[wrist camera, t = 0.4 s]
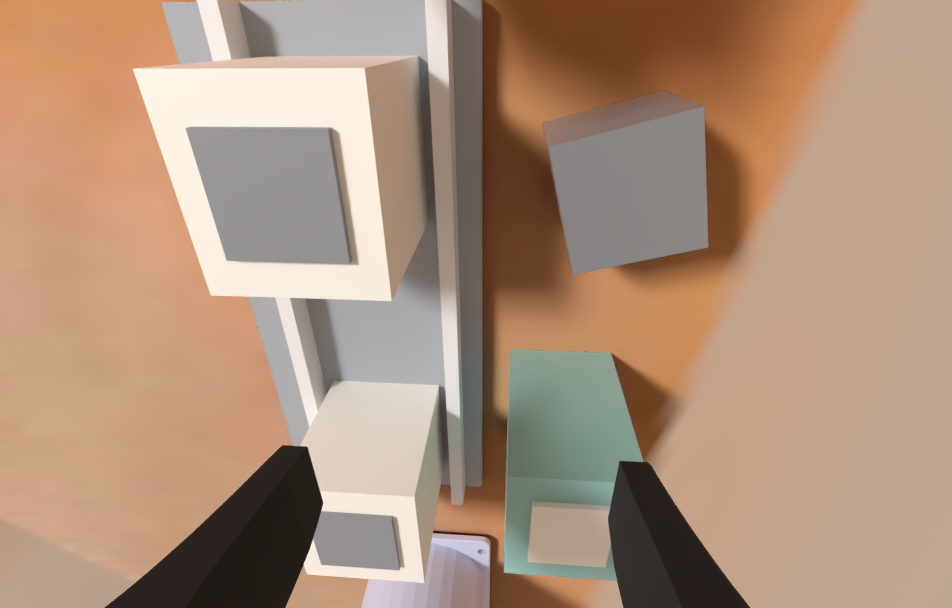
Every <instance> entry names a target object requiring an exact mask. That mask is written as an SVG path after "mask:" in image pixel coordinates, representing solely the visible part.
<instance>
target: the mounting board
mask: <svg viewBox="0 0 952 608" xmlns="http://www.w3.org/2000/svg"><path fill="white" fill-rule="evenodd" d="M161 3H162V7H163V10H164V13H165V17H166V20H167V23H168V27H169V30H170V33H171V37H172V40H173V44H174V47H175V50H176V54H177V57H178V60H179V65H168V66H157V67H146V68H135V69H133V71H134V74H135V76H136V79H137V82H138V85H139V88H140V91H141V94H142V97H143V100H144V103H145V105H146V108H147V111H148V114H149V117H150V120H151V123H152V126H153V129H154V132H155V135H156V137H157V140H158V143H159V146H160V149H161V152H162V155H163V158H164V161H165V164H166V166H167V169H168V172H169V175H170V178H171V181H172V184H173V187H174V190H175V193H176V195H177V198H178V201H179V204H180V207H181V210H182V213H183V216H184V219H185V222H186V224H187V227H188V230H189V233H190V236H191V239H192V242H193V245H194V248H195V251H196V253H197V256H198V259H199V262H200V265H201V268H202V271H203V274H204V277H205V280H206V283H207V285H208V288H209V291H210V294H211V295H217V296H248V297H249V299H250V303H251V306H252V309H253V313H254V316H255V320H256V323H257V326H258V330H259V333H260V336H261V340H262V343H263V347H264V350H265V353H266V357H267V360H268V363H269V367H270V370H271V373H272V377H273V380H274V384H275V387H276V390H277V394H278V397H279V400H280V404H281V407H282V410H283V414H284V417H285V421H286V424H287V427H288V431H289V434H290V437H291V441H292V444H293V446H307V447H308V450H309V454H310V457H311V461H312V464H313V468H314V471H315V475H316V479H317V482H318V486H319V489H320V493H321V496H322V500H323V507H322V510H321V514H320V517H319V521H318V524H317V528H316V531H315V534H314V538H313V541H312V544H311V547H310V550H309V552H308V555H307V557H306V560H305V562H304V567H305V570H306V573H307V574H310V575H323V576H337V577H350V578H364V579H377V580H391V581H404V582H418V583H424V582H425V576H426V570H427V564H428V558H429V552H430V546H431V540H432V534H433V528H434V522H435V516H436V510H437V504H438V498H439V492H440V486H441V484H443V485H451V503H452V505H463V502H464V493H465V486H477V487H482V478H483V0H297V1H232V0H197V2H161Z"/></svg>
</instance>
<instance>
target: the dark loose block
mask: <svg viewBox="0 0 952 608" xmlns="http://www.w3.org/2000/svg"><path fill="white" fill-rule="evenodd" d="M542 126H543V131H544V136H545V141H546V147H547V152H548V157H549V162H550V167H551V173H552V178H553V183H554V188H555V194H556V199H557V204H558V209H559V215H560V220H561V225H562V230H563V234H564V239H565V243H566V247H567V252H568V256H569V261H570V265H571V269H572V274H573V275H575V274H580V273H585V272H589V271H594V270H599V269H604V268H609V267H614V266H619V265H624V264H629V263H634V262H639V261H644V260H649V259H654V258H659V257H664V256H669V255H673V254H678V253H683V252H688V251H693V250H698V249H703V248H708V218H707V183H706V147H705V111H704V106H702V105H700V104H697V103H694V102H692V101H689V100H687V99H684V98H682V97H679V96H676V95H674V94H671V93H669V92H666V91H663V90H661V91H657V92H654V93H650V94H646V95H643V96H639V97H635V98H632V99H628V100H624V101H621V102H617V103H613V104H610V105H606V106H602V107H599V108H595V109H591V110H588V111H584V112H580V113H577V114H573V115H569V116H566V117H562V118H558V119H555V120H551V121H547V122H544V123H542Z"/></svg>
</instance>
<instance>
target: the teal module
mask: <svg viewBox="0 0 952 608" xmlns="http://www.w3.org/2000/svg"><path fill="white" fill-rule="evenodd" d="M619 461H634V462H643V459H642V455H641V452H640V449H639V445H638V442H637V439H636V435H635V432H634V428H633V425H632V422H631V418H630V415H629V412H628V408H627V405H626V402H625V398H624V395H623V391H622V388H621V385H620V381H619V378H618V375H617V371H616V368H615V365H614V361H613V358H612V355H611V353H599V352H573V351H547V350H521V349H510V366H509V393H508V419H507V452H506V495H505V539H504V573H515V574H529V575H543V576H557V577H571V578H584V579H598V580H612V581H617V578H616V573H615V569H614V563H613V555H612V548H611V540H610V532H609V524H608V516H609V511H610V506H611V501H612V496H613V491H614V486H615V481H616V476H617V471H618V466H619Z"/></svg>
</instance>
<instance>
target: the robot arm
mask: <svg viewBox="0 0 952 608" xmlns="http://www.w3.org/2000/svg"><path fill="white" fill-rule="evenodd" d="M322 507H323V500H322V496H321V493H320V489H319V486H318V482H317V479H316V475H315V471H314V468H313V464H312V461H311V457H310V454H309V450H308V447H307V446H285V445H282V446H281V447H280V448H279V449H278V450H277V451H276V452H275V453H274V454H273V455H272V456H271V457H270V458H269V459H268V460H267V461H266V462H265V463H264V464H263V465H262V466H261V467H260V468H259V469H258V470H257V471H256V472H255V473H254V474H253V475H252V476H251V477H250V478H249V479H248V480H247V481H246V482H245V483H244V484H243V485H242V486H241V487H240V488H239V489H238V490H237V491H236V492H235V493H234V494H233V495H232V496H231V497H230V498H228V499H227V500H226V501H225V502H224V503H223V504H222V505H221V506H220V507H219V508H218V509H217V510H216V511H215V512H214V513H213V514H212V515H211V516H210V517H209V518H208V519H207V520H205V521H204V522H203V523H202V524H201V525H200V526H199V527H198V528H197V529H196V530H195V531H194V532H193V533H192V534H191V535H189V536H188V537H187V538H186V539H185V540H184V541H183V542H182V543H180V544H179V545H178V546H177V547H176V548H175V549H174V550H173V551H172V552H170V553H169V554H168V555H167V556H166V557H165V558H164V559H163V560H161V561H160V562H159V563H158V564H157V565H156V566H155V567H154V568H152V569H151V570H150V571H149V572H148V573H147V574H145V575H144V576H143V577H142V578H141V579H139V580H138V581H137V582H136V583H135V584H133V585H132V586H131V587H130V588H129V589H127V590H126V591H125V592H124V593H122V594H121V595H120V596H119V597H117V598H116V599H115V600H114V601H112V602H111V603H110V604H109V605H107V606H106V607H105V608H285V607H286V605H287V602H288V600H289V598H290V595H291V593H292V591H293V588H294V586H295V584H296V581H297V579H298V576H299V574H300V572H301V569H302V567H303V564H304V562H305V560H306V557H307V555H308V552H309V550H310V547H311V544H312V541H313V538H314V534H315V531H316V528H317V524H318V521H319V517H320V514H321V510H322ZM608 524H609V532H610V540H611V548H612V555H613V563H614V569H615V573H616V578H617V582H618V586H619V590H620V594H621V599H622V603H623V607H624V608H750V607H749V606H748V604H747V603H746V602H745V601H744V599H743V598H742V597H741V596H740V594H739V593H738V592H737V590H736V589H735V588H734V587H733V585H732V584H731V583H730V581H729V580H728V579H727V577H726V576H725V575H724V573H723V572H722V571H721V569H720V568H719V567H718V565H717V564H716V562H715V561H714V560H713V558H712V557H711V555H710V554H709V553H708V551H707V550H706V548H705V547H704V546H703V544H702V543H701V541H700V540H699V539H698V538H697V536H696V534H695V533H694V532H693V530H692V529H691V527H690V526H689V524H688V523H687V521H686V520H685V518H684V517H683V515H682V514H681V512H680V511H679V509H678V508H677V506H676V505H675V503H674V502H673V500H672V498H671V497H670V495H669V494H668V492H667V491H666V489H665V487H664V486H663V484H662V483H661V481H660V479H659V478H658V476H657V475H656V473H655V471H654V470H653V468H652V466H651V465H650V464H649V463H648V462H634V461H619V466H618V471H617V476H616V481H615V486H614V491H613V496H612V501H611V506H610V511H609V516H608ZM361 608H490V540H489V539H488V538H486V537H483V536H470V535H454V534H439V533H433V534H432V540H431V546H430V552H429V558H428V564H427V570H426V576H425V582H424V583H418V582H404V581H391V580H377V579H369V581H368V584H367V588H366V592H365V596H364V599H363V603H362V607H361Z"/></svg>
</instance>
